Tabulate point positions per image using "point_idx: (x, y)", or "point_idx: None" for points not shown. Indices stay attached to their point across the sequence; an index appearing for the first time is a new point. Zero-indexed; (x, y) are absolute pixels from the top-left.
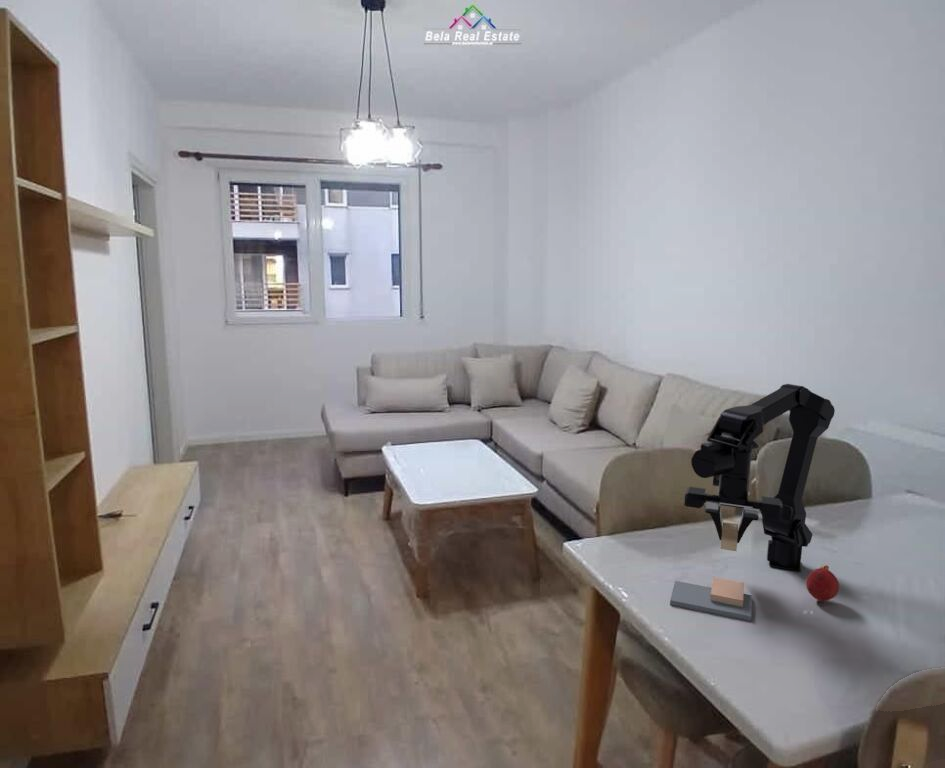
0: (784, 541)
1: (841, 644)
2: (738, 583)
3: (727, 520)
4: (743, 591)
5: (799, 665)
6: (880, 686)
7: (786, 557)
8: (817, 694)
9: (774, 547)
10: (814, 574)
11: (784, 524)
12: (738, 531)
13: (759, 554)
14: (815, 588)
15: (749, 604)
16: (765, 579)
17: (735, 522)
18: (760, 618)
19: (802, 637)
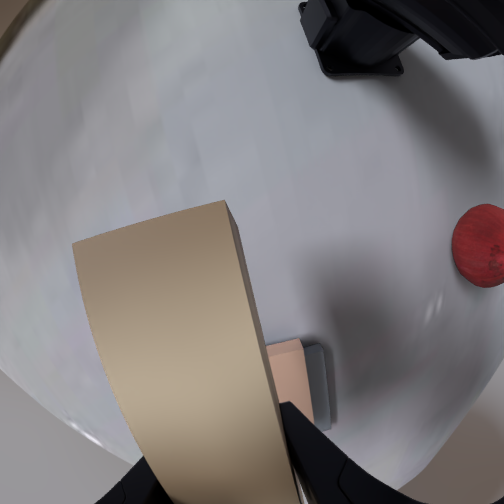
0: (394, 19)
1: (456, 376)
2: (288, 363)
3: (114, 287)
4: (309, 395)
5: (391, 455)
6: (461, 419)
7: (382, 56)
8: (398, 472)
9: (349, 27)
10: (497, 273)
11: (475, 27)
12: (299, 477)
13: (268, 7)
14: (476, 285)
15: (323, 394)
16: (335, 178)
17: (222, 347)
18: (345, 401)
19: (410, 402)
